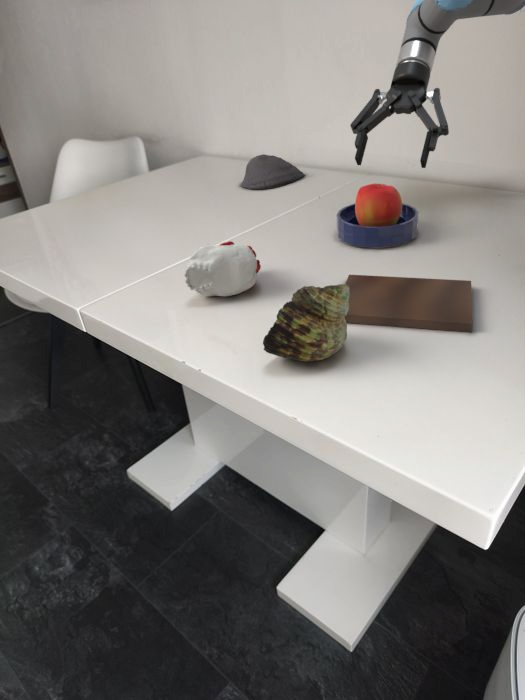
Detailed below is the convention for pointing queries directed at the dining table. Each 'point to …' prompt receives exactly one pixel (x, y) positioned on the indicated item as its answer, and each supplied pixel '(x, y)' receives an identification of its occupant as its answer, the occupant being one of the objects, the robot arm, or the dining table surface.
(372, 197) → the apple
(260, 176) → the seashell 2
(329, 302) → the seashell
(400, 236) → the bowl
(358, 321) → the board
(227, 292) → the white rounded lumpy piece
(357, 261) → the dining table surface
